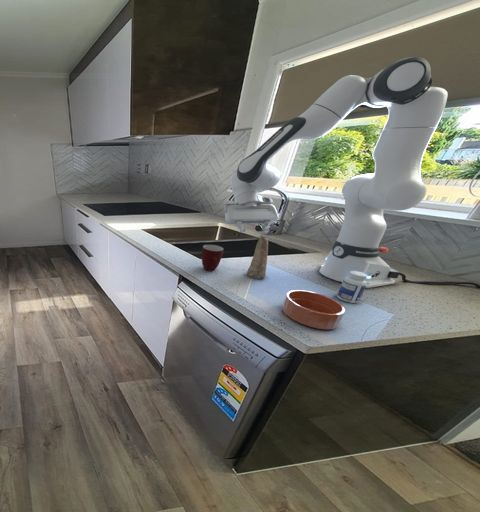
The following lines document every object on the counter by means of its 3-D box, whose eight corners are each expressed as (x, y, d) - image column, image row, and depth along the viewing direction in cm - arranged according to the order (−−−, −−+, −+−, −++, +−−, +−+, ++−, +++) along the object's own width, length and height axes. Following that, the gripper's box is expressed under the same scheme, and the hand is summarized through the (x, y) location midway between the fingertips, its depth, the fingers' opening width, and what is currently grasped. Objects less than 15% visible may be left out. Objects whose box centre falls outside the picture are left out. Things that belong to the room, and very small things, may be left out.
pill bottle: (351, 295, 84) (362, 270, 80) (362, 304, 79) (375, 278, 76) (332, 294, 85) (343, 269, 82) (342, 302, 81) (354, 276, 77)
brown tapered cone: (243, 274, 102) (252, 281, 96) (247, 234, 95) (257, 240, 89) (259, 272, 102) (268, 279, 96) (264, 231, 94) (275, 237, 89)
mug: (225, 276, 99) (230, 253, 95) (205, 276, 99) (209, 253, 96) (214, 265, 109) (218, 244, 105) (196, 265, 109) (199, 244, 105)
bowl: (311, 304, 80) (316, 289, 78) (351, 330, 68) (358, 314, 66) (271, 304, 80) (276, 290, 78) (304, 331, 68) (311, 315, 66)
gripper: (226, 199, 102) (232, 228, 97) (275, 198, 101) (285, 227, 96) (219, 207, 108) (225, 235, 103) (266, 207, 107) (275, 235, 102)
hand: (254, 231), depth 99 cm, fingers open, 8 cm apart
